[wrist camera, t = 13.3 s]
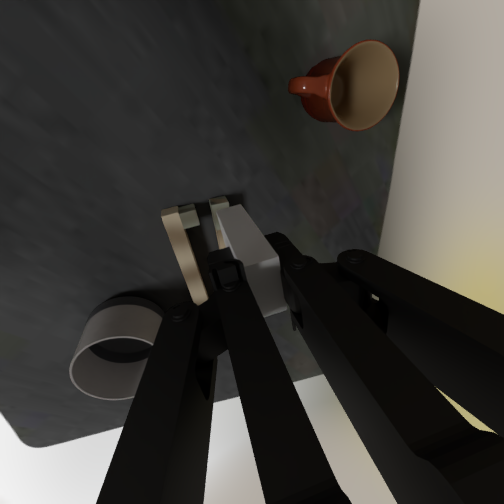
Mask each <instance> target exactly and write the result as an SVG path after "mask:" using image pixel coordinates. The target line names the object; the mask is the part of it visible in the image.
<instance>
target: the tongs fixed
mask: <svg viewBox="0 0 504 504" xmlns="http://www.w3.org/2000/svg"><path fill="white" fill-rule="evenodd" d="M161 218H162V220H163V223H164V226H165V228H166V231H167V233H168V236H169V239H170V241H171V244H172V247H173V249H174V252H175V255H176V257H177V260H178V262H179V265H180V268H181V270H182V273H183V276H184V278H185V281H186V283H187V286H188V289H189V291H190V294H191V297H192V299H193V302H194V303H196V304H197V305H200V304H202V303H203V302H205V301H206V300H208V299H209V297H208V294H207V291H206V288H205V285H204V282H203V279H202V276H201V273H200V270H199V267H198V264H197V261H196V258H195V255H194V253H193V250H192V247H191V244H190V241H189V238H188V235H187V232H186V229H187V228H190V227H194V226H198V225H200V223H199V219H198V216H197V212H196V209H195V206H194V204H190V205H186V206H182V207H178V206H175V207H171V208H167V209H163V210H162V212H161Z"/></svg>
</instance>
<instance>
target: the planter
mask: <svg viewBox="0 0 504 504" xmlns="http://www.w3.org/2000/svg"><path fill="white" fill-rule="evenodd" d="M164 315H165V313H164V311H163V310H162V309H161V308H160V307H159V306H158V305H156V304H155V303H153V302H152V301H150V300H147V299H144V298H140V297H134V296H124V297H117V298H113V299H110V300H108V301H105V302H103V303H102V304H100V305H99V306H97V307H96V308H95V309H94V310H93V311H92V312H91V314H90V316H89V317H88V320H87V322H86V325H85V328H84V330H83V333H82V335H81V338H80V341H79V343H78V346H77V348H76V351H75V353H74V356H73V359H72V361H71V364H70V369H69V373H70V378H71V380H72V382H73V384H74V385H75V386H76V387H77V388H78V389H79V390H80V391H82V392H83V393H85V394H87V395H89V396H92V397H95V398H99V399H104V400H123V399H129V398H133V397H134V396H135V394H136V391H137V388H138V385H139V382H140V380H141V377H142V374H143V371H144V368H145V366H146V363H147V360H148V357H149V355H150V352H151V349H152V346H153V343H154V341H155V338H156V335H157V332H158V329H159V327H160V324H161V321H162V318H163V316H164Z"/></svg>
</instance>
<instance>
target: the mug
mask: <svg viewBox="0 0 504 504" xmlns="http://www.w3.org/2000/svg"><path fill="white" fill-rule="evenodd" d="M398 87H399V67H398V62H397V59H396V57H395V55H394V53H393V51H392V50H391V49H390V48H389V47H388V46H387V45H386V44H385V43H383V42H381V41H378V40H364V41H361V42H358V43H356V44H355V45H353V46H351V47H350V48H349V49H348V50H347V51H346V52H345V53H344V54H343V55H342V56H337V57H333V58H328V59H325V60H323V61H321V62H320V63H318V64H317V65H315V66H314V67H312V68H311V70H310V71H309V72H308V74H307V75H306V76H300V77H295V78H292V79H290V81H289V84H288V92H289V93H290V94H294V95H298V96H300V97H301V102H302V105H303V107H304V109H305V111H306V112H307V113H308V114H309V115H310V116H311V117H313V118H314V119H316V120H318V121H321V122H337V123H338V124H340V125H341V126H342V127H344V128H345V129H348V130H351V131H363V130H366V129H369V128H371V127H373V126H375V125H376V124H377V123H379V122H380V121H381V120H382V119H383V118H384V117H385V115H386V114H387V113H388V111H389V110H390V108H391V107H392V105H393V103H394V100H395V98H396V95H397V91H398Z"/></svg>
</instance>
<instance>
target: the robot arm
mask: <svg viewBox="0 0 504 504" xmlns="http://www.w3.org/2000/svg"><path fill="white" fill-rule="evenodd" d="M216 213H217V217H218V220H219V224H220V228H221V232H222V235H223V239H224V243H225V246H226V248H223V249H219V250H216V251H212V252H210V253H209V255H208V258H207V260H208V264H209V268H210V269H209V273H208V274H209V277H210V280H211V283H212V286H213V289H214V292H213V294H212V295H211V297H210V298H209V299H208V300H206V301H205V302H203V303H202V304H200V305H197V304H196V303H193V302H183V303H179V304H177V305H175V306H173V307H171V308H170V309H169V310H168V311H167V312H166V313H165V315H164V316H163V318H162V321H161V324H160V327H159V329H158V332H157V335H156V338H155V341H154V343H153V346H152V349H151V352H150V355H149V357H148V360H147V363H146V366H145V368H144V371H143V374H142V377H141V380H140V382H139V385H138V388H137V391H136V394H135V396H134V399H133V402H132V405H131V407H130V410H129V413H128V416H127V419H126V421H125V424H124V427H123V430H122V433H121V435H120V438H119V441H118V444H117V447H116V449H115V452H114V455H113V458H112V461H111V463H110V466H109V469H108V471H107V474H106V477H105V480H104V483H103V486H102V488H101V491H100V494H99V497H98V499H97V502H96V504H203V501H204V492H205V482H206V472H207V462H208V461H207V460H208V452H209V451H208V450H209V442H210V431H211V421H212V411H213V401H214V391H215V381H216V371H217V361H218V360H217V356H218V355H220V354H221V353H223V352H224V351H226V350H227V349H228V350H229V354H230V358H231V363H232V367H233V371H234V375H235V379H236V383H237V387H238V391H239V396H240V399H241V404H242V408H243V412H244V416H245V420H246V424H247V428H248V432H249V437H250V441H251V445H252V448H253V453H254V457H255V461H256V465H257V469H258V474H259V478H260V481H261V486H262V490H263V494H264V498H265V503H266V504H352V503H351V501H350V500H349V498H348V497H347V496H346V494H345V493H344V492H343V491H342V490H341V488H340V486H339V484H338V482H337V480H336V478H335V476H334V474H333V471H332V469H331V467H330V465H329V463H328V461H327V458H326V456H325V454H324V451H323V449H322V447H321V445H320V442H319V440H318V438H317V436H316V433H315V431H314V429H313V427H312V424H311V422H310V420H309V418H308V416H307V413H306V411H305V409H304V407H303V405H302V402H301V400H300V398H299V395H298V393H297V391H296V389H295V386H294V384H293V382H292V380H291V378H290V375H289V373H288V371H287V369H286V366H285V364H284V362H283V360H282V357H281V355H280V353H279V351H278V348H277V346H276V344H275V342H274V339H273V337H272V335H271V333H270V331H269V328H268V326H267V324H266V322H265V319H264V317H267V316H270V315H273V314H276V313H279V312H282V311H285V310H287V306H286V302H287V304H288V305H289V307H290V313H291V319H292V326H293V330H294V331H295V330H296V326H297V328H298V330H299V331H300V333H301V335H302V337H303V338H304V340H305V342H306V344H307V345H308V347H309V349H310V351H311V353H312V354H313V356H314V358H315V360H316V361H317V363H318V365H319V367H320V368H321V370H322V372H323V374H324V375H325V377H326V379H327V381H328V382H329V384H330V386H331V388H332V389H333V391H334V393H335V395H336V396H337V398H338V400H339V402H340V403H341V405H342V407H343V409H344V410H345V412H346V414H347V416H348V417H349V419H350V421H351V423H352V424H353V426H354V428H355V430H356V431H357V433H358V435H359V437H360V439H361V440H362V442H363V444H364V445H365V447H366V449H367V451H368V453H369V454H370V456H371V458H372V459H373V461H374V463H375V465H376V466H377V468H378V470H379V472H380V473H381V475H382V477H383V479H384V481H385V482H386V484H387V486H388V488H389V489H390V491H391V493H392V495H393V496H394V498H395V500H396V502H397V504H504V315H503V314H501V313H499V312H497V311H495V310H493V309H490V308H488V307H486V306H484V305H482V304H480V303H478V302H475V301H473V300H471V299H469V298H467V297H465V296H462V295H460V294H458V293H456V292H454V291H452V290H449V289H447V288H445V287H443V286H441V285H439V284H436V283H434V282H432V281H430V280H428V279H426V278H423V277H421V276H419V275H417V274H415V273H413V272H411V271H408V270H406V269H404V268H402V267H400V266H397V265H395V264H393V263H391V262H389V261H387V260H385V259H382V258H380V257H378V256H376V255H374V254H372V253H369V252H367V251H364V250H359V249H352V250H346V251H343V252H342V253H340V254H339V255H338V257H337V262H333V263H318V262H317V261H316V260H315V259H314V258H312V257H310V256H306V255H302V254H301V253H300V252H299V250H298V249H297V248H296V247H295V246H294V245H293V244H292V243H291V241H290V240H289V239H288V238H287V237H286V236H285V235H284V234H281V233H279V232H275V233H272V234H268V235H265V236H264V235H263V234H262V233H261V231H260V230H259V229H258V227H257V226H256V224H255V223H254V222H253V220H252V219H251V217H250V216H249V215H248V213H247V212H246V211H245V209H244V208H243V206H242V205H241V204H239V205H235V206H231V207H228V208H224V209H220V210H217V211H216ZM372 294H374V295H375V296H377V297H379V301H378V300H375V299H374V298H372ZM295 325H296V326H295ZM436 387H437V388H438V389H439V390H441V391H442V392H443V393H444V394H446V395H447V396H448V397H450V398H451V399H452V400H454V401H455V402H456V403H458V404H459V405H460V406H461V407H463V408H464V409H465V410H467V411H468V412H469V413H471V414H472V415H473V416H475V417H476V418H477V419H479V420H480V421H481V422H482V423H484V424H485V425H486V426H488V427H489V428H490V429H492V430H493V431H494V432H496V433H497V434H498V435H497V434H496V433H494V432H488V431H482V430H479V429H477V428H475V427H474V426H472V425H471V424H470V423H469V422H468V421H467V420H466V419H465V418H464V417H463V416H462V415H461V414H460V413H459V412H458V411H457V410H456V409H455V408H454V406H453V405H452V404H450V402H449V401H448V400H447V399H446V398H445V397H444V396H443V395H442V394H441V393H440V392H439V391H438V389H436Z"/></svg>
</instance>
